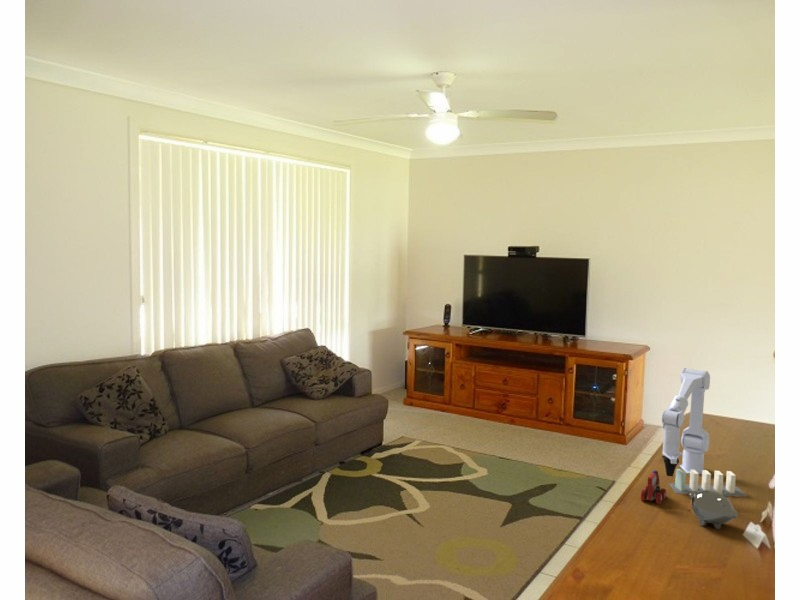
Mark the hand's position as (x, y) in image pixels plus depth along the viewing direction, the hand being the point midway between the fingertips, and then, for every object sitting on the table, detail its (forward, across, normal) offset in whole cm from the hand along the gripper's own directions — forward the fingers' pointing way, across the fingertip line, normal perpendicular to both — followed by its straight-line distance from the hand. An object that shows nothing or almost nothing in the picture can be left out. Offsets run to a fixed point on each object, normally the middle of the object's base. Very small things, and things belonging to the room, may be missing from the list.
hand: (669, 475), depth 250 cm
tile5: (+5, +3, -22) cm, 23 cm away
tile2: (+5, +1, -9) cm, 10 cm away
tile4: (+5, +2, -18) cm, 19 cm away
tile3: (+5, +2, -14) cm, 15 cm away
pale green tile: (+5, 0, -4) cm, 6 cm away
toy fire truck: (+6, -12, +7) cm, 15 cm away
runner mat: (+5, +2, -14) cm, 15 cm away
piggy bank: (+6, -29, -9) cm, 31 cm away
